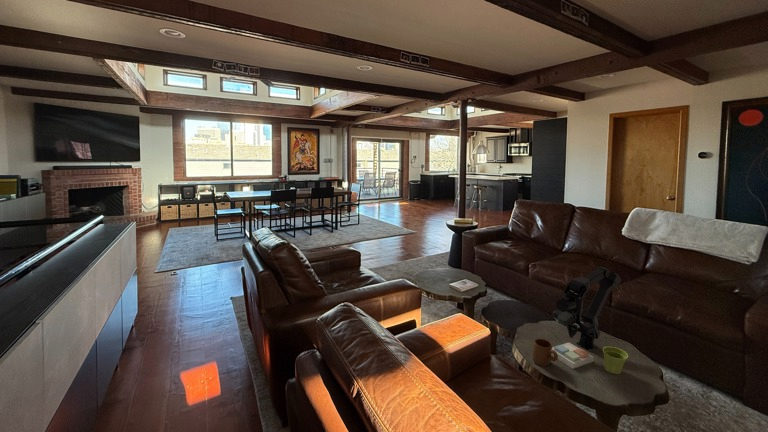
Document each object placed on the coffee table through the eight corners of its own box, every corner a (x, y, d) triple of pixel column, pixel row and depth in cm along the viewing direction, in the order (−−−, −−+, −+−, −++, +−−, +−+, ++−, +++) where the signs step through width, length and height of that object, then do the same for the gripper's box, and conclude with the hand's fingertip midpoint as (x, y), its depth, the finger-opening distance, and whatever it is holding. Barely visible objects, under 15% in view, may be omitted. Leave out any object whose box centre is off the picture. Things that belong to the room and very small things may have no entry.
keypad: (568, 347, 177) (569, 342, 177) (592, 362, 166) (593, 356, 165) (548, 353, 172) (549, 348, 172) (572, 369, 161) (573, 363, 160)
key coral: (579, 351, 170) (580, 348, 170) (588, 357, 166) (588, 353, 166) (573, 354, 168) (573, 350, 168) (581, 359, 164) (582, 355, 164)
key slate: (560, 348, 173) (561, 344, 172) (568, 353, 169) (569, 349, 168) (554, 350, 171) (554, 346, 171) (561, 355, 167) (562, 351, 167)
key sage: (571, 354, 168) (571, 350, 167) (579, 360, 164) (580, 356, 163) (564, 357, 166) (564, 353, 166) (572, 362, 162) (573, 358, 162)
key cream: (569, 348, 175) (569, 344, 175) (577, 352, 171) (577, 349, 171) (562, 350, 174) (562, 346, 173) (570, 355, 170) (570, 351, 169)
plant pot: (617, 379, 154) (620, 361, 152) (595, 367, 162) (598, 349, 160) (629, 373, 158) (632, 355, 156) (608, 361, 166) (610, 344, 164)
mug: (562, 370, 160) (564, 350, 158) (549, 374, 157) (551, 354, 155) (541, 355, 171) (543, 337, 169) (528, 358, 168) (530, 340, 166)
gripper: (546, 301, 173) (542, 331, 176) (581, 319, 156) (576, 351, 159) (562, 297, 177) (559, 326, 180) (598, 314, 160) (594, 346, 164)
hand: (571, 337), depth 171 cm, fingers closed
